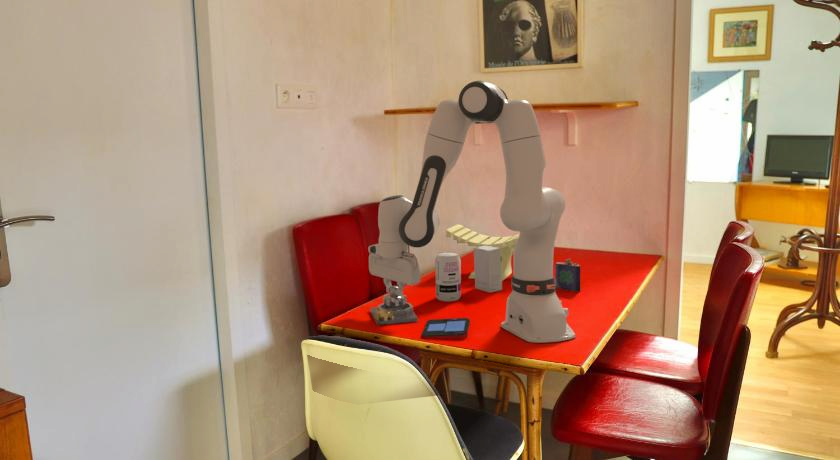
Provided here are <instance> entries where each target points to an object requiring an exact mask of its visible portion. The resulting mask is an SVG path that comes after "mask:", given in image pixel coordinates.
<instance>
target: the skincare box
mask: <svg viewBox="0 0 840 460" xmlns="http://www.w3.org/2000/svg"><path fill="white" fill-rule="evenodd" d="M473 263H474V264H473V265H474V266H473V267H474V271H475V279H474V283H475V285H474V288H475V289H476V290H479V291H483V292H487V293H494V292H499V291H500V292H501V291H502V290H503V281H502V275H501V253H500V248H497V247H491V246H486V245H485V246H480V247H477V246H474V247H473Z"/></svg>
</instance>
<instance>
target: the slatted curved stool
mask: <svg viewBox="0 0 840 460" xmlns="http://www.w3.org/2000/svg"><path fill="white" fill-rule="evenodd" d="M445 233H446V234H445V237H446V238H453V239H452V240H453V241H456V244H457V245H458V244H467V247H480V246H485V245H486V246H491V247H497V248H500V253H501V275H502V282H503V281H504V280H506V279H507V278H508V277H509V276H510V275H511V274H512V272H513V270H512V258H513V257H512V256H513V251H514V247H515V245H516V243H517V241H518V238H519V235H520V233H518V234H515V235H510V236H503V237H502V236H491V235H488V234H487V235H486V234H482V233H479V232H477V231H472V229H470V228H467V227H465V226H464V225H462V224H458V223H457V224H454V225H453V226H451V227H449V228H447V229H445ZM468 279H472V280H473V279H474V280H475V270H473V271H472V272H471V273H470V274H469V276H468Z"/></svg>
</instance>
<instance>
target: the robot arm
mask: <svg viewBox="0 0 840 460" xmlns="http://www.w3.org/2000/svg"><path fill="white" fill-rule="evenodd" d="M473 124H478V125H479V124H494V125H495V126H496V128H497V130H498V133H499V138H500V144H501V150H502V155H503V162H504V166H505V168H504V169H505V190H504V198H503V201H502V203H501V205H500V209H499V215H500V221H501V222H502V224H503V225H504V226H505V228H507V229H508V230H511V231H512V232H519V234H520V235H519V238H518V241H517V243H516V245H515V247H514V251H513V254H512V256H513V257H512V260H513V270H512V272H513V275H511V276H512V277H511V281H510V282H511V289H512V291H511V293H510V294H509V295H508V297H506V298H507V299H506V305H505V306H506V307H505V320H504V321H502V322H501V324H500V327H501V328H502V329H504V330H506V331H507V332H510V333H511V334H513V335H515V336H517V337H518V338H520V339H522V340H524V341H526V342H529V343H555V342H562V341H567V340H569V341H570V340H572V339H574V338H576V333H575V332H574V330H573V329H572V328H571V327H570V325H569V324H568V323H567V317H569V309H568V308H567V307H563V305H562V304H563V302H562V300H560V298H559V297H558V295H557V293H556V291H557V288H556V287H555V285H556V284H555V276H554V250H555V243H556V239H557V235H558V230H559V224H560V222H561V218H562V216H563V213H564V212H565V209H566V200H565V198H564V196H563V194H562V193H561V192H560V191H559V190H557V189H555V188H552V187H548V186H543V176H544V175H543V174H544V170H545V168H546V164H547V162H546V157H545V155H546V154H545V152H544V151H545V150H544V144H543V140H542V134H541V129H540V126H539V122H538V119H537V116H536V113H535V109H534V108H533V105H532V104H531V102H529V101H527V100H524V99H519V98H517V99H510V100H509V98H508V96H507V93H506V92H505V91H504V90H503V89H502V88H500V87H498V86H497V85H496V84H495V83H494V84H493V83H491V82H488V81H484V80H473V81H472V82H469V83H467V84H465V86H464V87H463V88H462V89H461V90H460V92H459V95H458V100H457V99H453V98H449V99H448V98H447V99H444V100H442V101H440V102H439V103H438V105H437V107H436V109H435V111H434V112H433V115H432V118H431V120H430V122H429V126H428V129H427V132H426V137H425V141H424V146H423V153H422V162H421V171H420V172H421V173H420V176H419V180H418V184H417V187H416V190H415V194H414V197H413V200H410V199H408V198H407V197H406V196H405V195H401V194H400V195H399V194H398V195H391V196H388V197H385V198H383V199H382V200H381V201H380V202H379V204H378V213H377V214H378V216H377V222H378V223H377V224H378V229H379V237H378V243H375V244H372V245H369V246H368V248H367V249H368V253H369V256H368V270H369V273H370V274H371V276H376V277H379V278H382V279H383V284H384V285H385V287H386V289H385V290H386V293H388V294H390V286H393V285H392V281H393V282H396V286H398V288H397V289H396V290H395V292H396V293H395V294H396V295H398V296H401V295H404V288H405V286H406V285H409V286H414V285H419V283H420V282H421V271H420V266H419V261H418V258H417V256H416V255H415V254H414V253H409V247H412V248H422V247H425V246H427V245H428V244H429V243H430V242H432V239H433V237H434V235H435V234H436V232H437V231H438V229H439V227H440V226H439V225H440V218H439V214H437V212H436V211H435V207H436V204H437V200H438V198H439V195H440V194H439V193H440V191H441V187H442V185H443V182H444V181H445V179H446V178H447V177H448V175H449V173H450V172H451V171H452V170H453V169H454V167H455V166H456V164H457V163H458V160H459V158H460V156H461V154H462V151H463V148H464V144H465V141H466V137H467V134H468V131H469V129H470V127H471V126H472V125H473Z"/></svg>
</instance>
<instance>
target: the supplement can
mask: <svg viewBox="0 0 840 460" xmlns="http://www.w3.org/2000/svg"><path fill="white" fill-rule="evenodd" d="M434 261H435V263H434V265H435V271H434V272H435V297H436V299H437V300H438V301H440V302H441V301H442V302H455V301H458V300H459V299H461V296H462V287H461V286H462V284H461V283H462V281H461V280H462V276H461V275H462V272H461V271H462V269H461V267H462V266H461V265H462V263H461V257H460V255H459V252H456V251H454V252H453V251H442V252H437V254H436V256H435V259H434Z"/></svg>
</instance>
